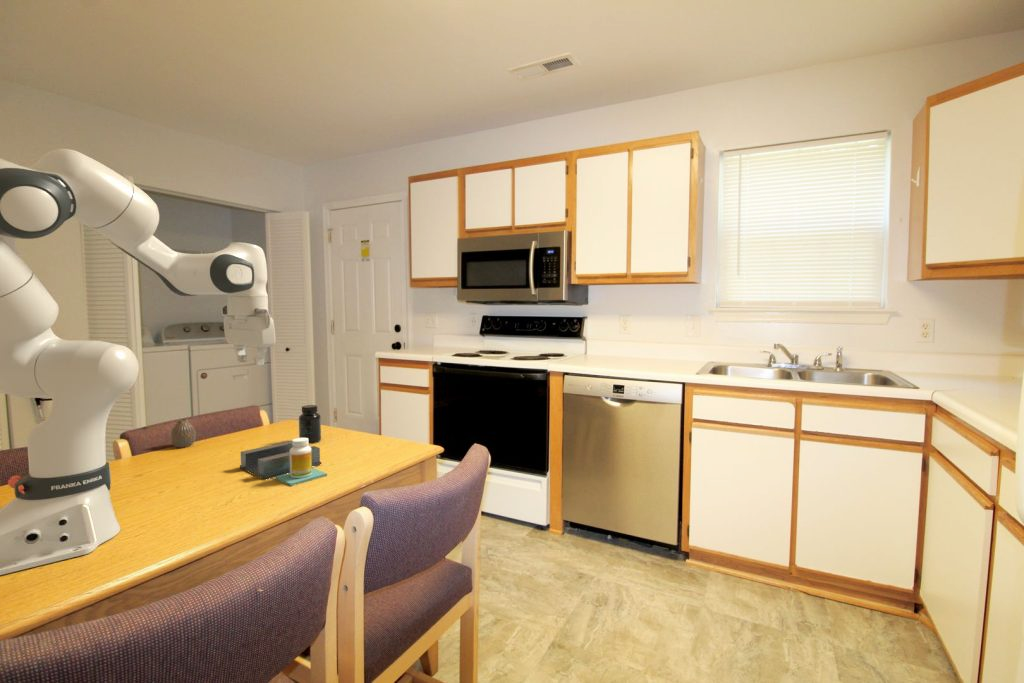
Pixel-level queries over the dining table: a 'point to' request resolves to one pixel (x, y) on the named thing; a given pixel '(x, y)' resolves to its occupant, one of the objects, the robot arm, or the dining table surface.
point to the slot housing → (272, 460)
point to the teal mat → (292, 481)
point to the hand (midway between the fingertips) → (250, 363)
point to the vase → (183, 434)
